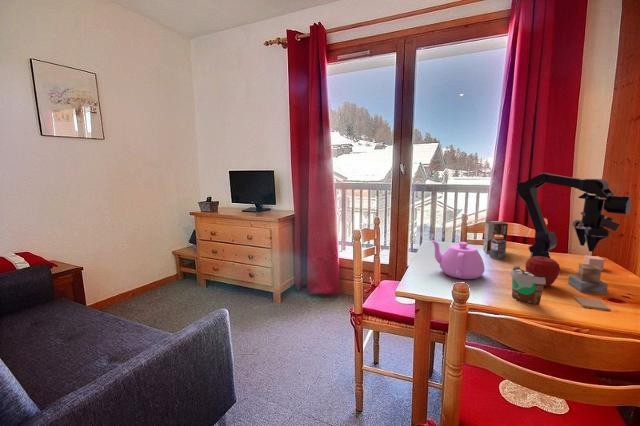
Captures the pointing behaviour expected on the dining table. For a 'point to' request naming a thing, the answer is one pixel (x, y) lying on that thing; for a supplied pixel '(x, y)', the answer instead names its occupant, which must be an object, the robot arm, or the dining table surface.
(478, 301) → the dining table surface
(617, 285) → the dining table surface
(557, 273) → the apple
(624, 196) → the robot arm
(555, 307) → the dining table surface
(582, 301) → the tile
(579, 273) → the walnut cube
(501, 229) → the coffee box
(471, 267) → the pink pot
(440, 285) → the dining table surface
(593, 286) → the grey flat block
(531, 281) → the food container
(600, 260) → the pale pink cube
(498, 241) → the pill bottle
